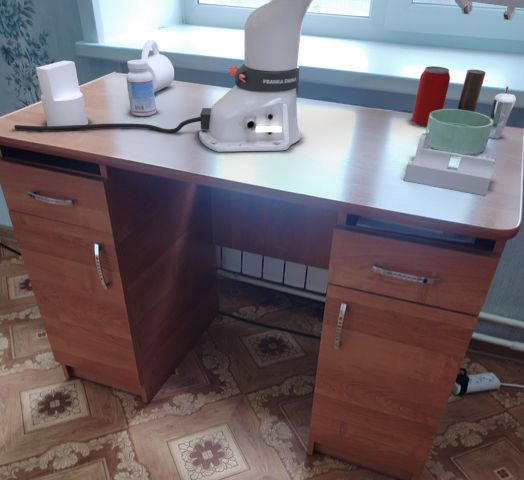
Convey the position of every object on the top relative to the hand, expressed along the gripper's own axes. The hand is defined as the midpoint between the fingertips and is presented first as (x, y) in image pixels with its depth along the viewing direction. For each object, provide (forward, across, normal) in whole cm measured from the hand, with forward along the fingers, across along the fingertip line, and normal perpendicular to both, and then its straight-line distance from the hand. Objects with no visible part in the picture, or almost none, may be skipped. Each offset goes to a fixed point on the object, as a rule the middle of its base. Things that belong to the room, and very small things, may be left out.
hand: (488, 14), depth 107 cm
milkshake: (+18, -8, +15) cm, 25 cm away
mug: (-9, +73, +42) cm, 85 cm away
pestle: (+16, -1, +16) cm, 23 cm away
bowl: (+8, -6, +25) cm, 27 cm away
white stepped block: (-32, +62, +65) cm, 95 cm away
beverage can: (+15, +7, +18) cm, 25 cm away
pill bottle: (-19, +58, +52) cm, 80 cm away
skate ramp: (-4, -14, +37) cm, 40 cm away
